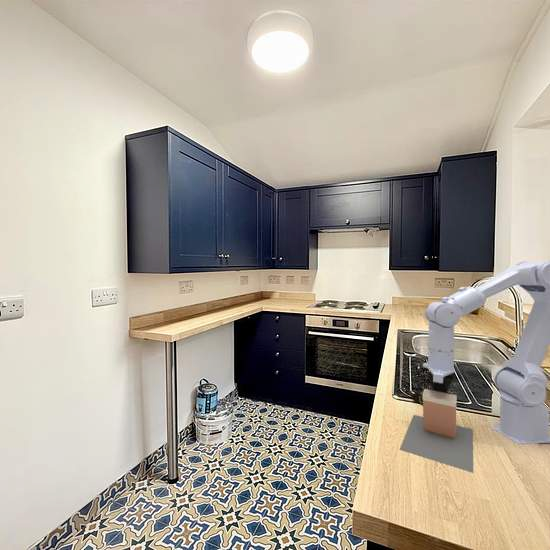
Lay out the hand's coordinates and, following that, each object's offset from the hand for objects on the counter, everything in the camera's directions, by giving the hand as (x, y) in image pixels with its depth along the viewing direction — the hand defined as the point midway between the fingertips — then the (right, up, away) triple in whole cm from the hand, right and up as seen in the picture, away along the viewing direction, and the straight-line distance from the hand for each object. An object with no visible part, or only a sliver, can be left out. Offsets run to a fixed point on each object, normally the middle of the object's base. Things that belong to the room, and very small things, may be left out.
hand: (440, 402), depth 76 cm
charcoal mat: (-3, -8, -4) cm, 9 cm away
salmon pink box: (0, -7, 0) cm, 7 cm away
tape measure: (+5, -8, +17) cm, 19 cm away
